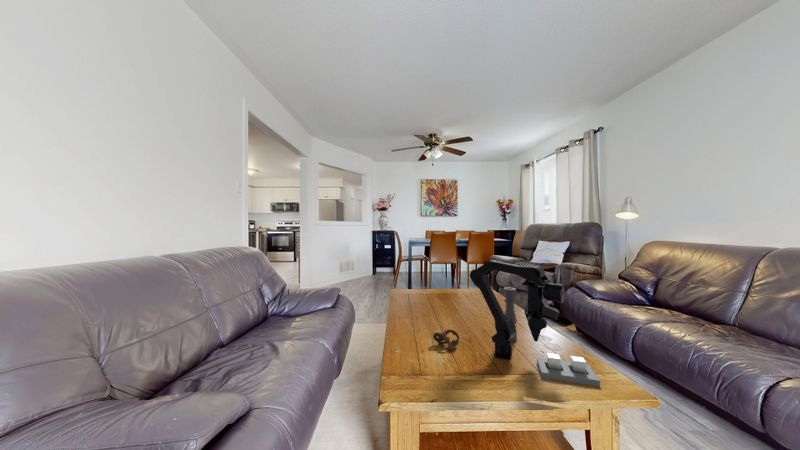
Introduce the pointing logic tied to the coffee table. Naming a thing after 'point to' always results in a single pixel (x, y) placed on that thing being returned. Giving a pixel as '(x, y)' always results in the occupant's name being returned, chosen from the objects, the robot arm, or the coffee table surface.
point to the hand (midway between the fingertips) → (534, 336)
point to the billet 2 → (578, 365)
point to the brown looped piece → (446, 338)
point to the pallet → (568, 373)
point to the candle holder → (510, 306)
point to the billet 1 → (553, 361)
